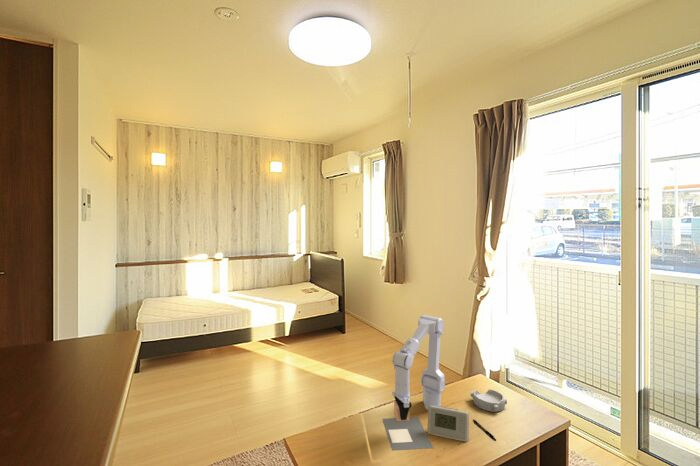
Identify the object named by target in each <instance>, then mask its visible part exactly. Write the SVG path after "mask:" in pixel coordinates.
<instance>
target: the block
mask: <svg viewBox="0 0 700 466" xmlns="http://www.w3.org/2000/svg"><path fill="white" fill-rule="evenodd" d="M393 405H394V406H393V407H394V409H393V414H394V416H395V417H394V418H396V420H397V421H409V417H410V415H411V414H410V411H411V410H410V409H411V408H410V409H409V412H408V415H407V419H406V420H401V418H400V411H399V407H398V405H397V402H396V401H394V403H393Z"/></svg>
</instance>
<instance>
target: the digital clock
mask: <svg viewBox="0 0 700 466" xmlns="http://www.w3.org/2000/svg"><path fill="white" fill-rule="evenodd" d="M426 433H427V434H428V435H431V436H437V437H442V438H446V439H450V440H456V441H460V442H463V443H464V442H466V443H467V442H469V440H470V438H469V437H470V414H469V412H468V411H466V410H459V409H457V408H451V407H446V406H434V405H429V408H428V410H427V431H426Z"/></svg>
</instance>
